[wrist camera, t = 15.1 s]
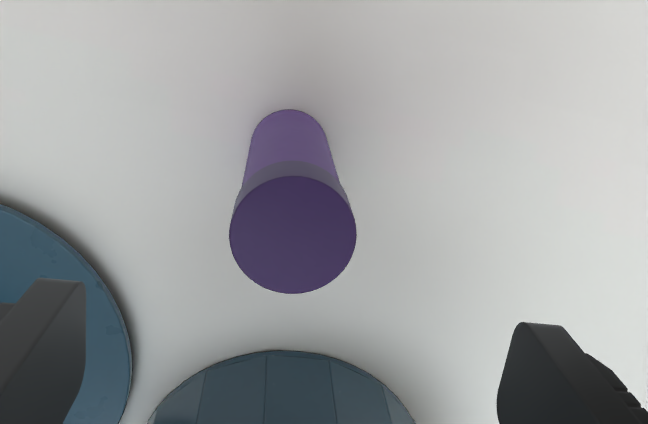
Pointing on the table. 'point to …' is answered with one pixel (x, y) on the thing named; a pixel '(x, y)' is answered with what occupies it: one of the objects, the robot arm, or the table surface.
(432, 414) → the table surface
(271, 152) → the glue stick
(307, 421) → the tin
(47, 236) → the lid
